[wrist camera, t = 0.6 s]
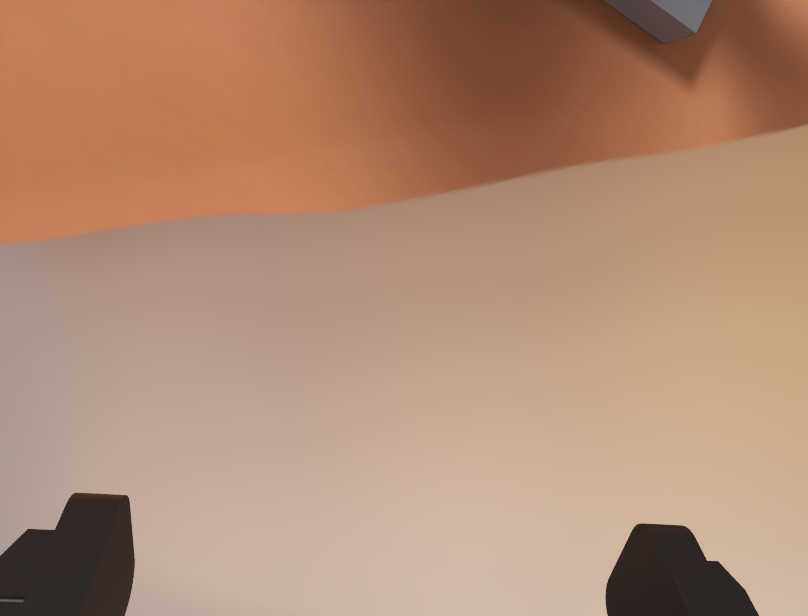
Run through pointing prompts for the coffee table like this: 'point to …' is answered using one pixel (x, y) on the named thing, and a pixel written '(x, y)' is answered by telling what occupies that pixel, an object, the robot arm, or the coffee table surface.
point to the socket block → (664, 16)
